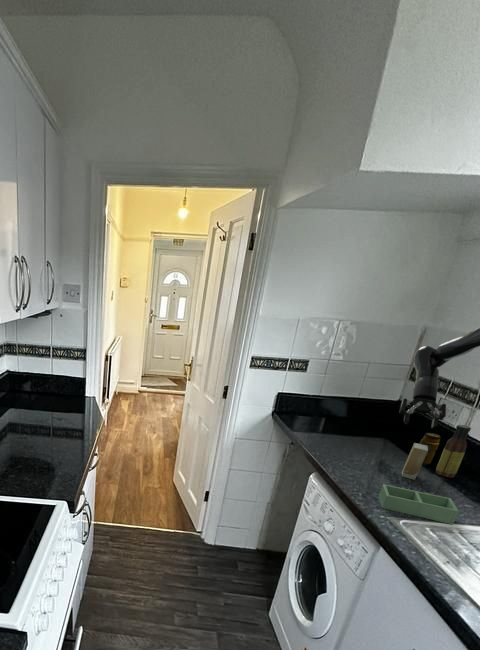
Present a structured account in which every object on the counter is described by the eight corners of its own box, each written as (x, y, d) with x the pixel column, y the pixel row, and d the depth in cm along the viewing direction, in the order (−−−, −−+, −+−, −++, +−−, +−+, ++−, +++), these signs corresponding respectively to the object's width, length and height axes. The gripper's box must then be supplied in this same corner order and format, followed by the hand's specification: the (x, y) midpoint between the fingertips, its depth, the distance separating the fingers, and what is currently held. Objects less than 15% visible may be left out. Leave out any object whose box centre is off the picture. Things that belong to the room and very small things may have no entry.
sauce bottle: (456, 476, 160) (480, 428, 151) (450, 479, 156) (474, 430, 148) (436, 469, 165) (458, 422, 156) (430, 473, 161) (452, 425, 153)
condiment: (435, 464, 171) (447, 437, 166) (422, 466, 167) (435, 439, 162) (416, 457, 177) (428, 430, 171) (404, 459, 173) (415, 432, 168)
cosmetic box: (401, 471, 161) (413, 442, 156) (415, 474, 159) (427, 445, 154) (401, 476, 156) (413, 447, 151) (415, 480, 154) (428, 450, 149)
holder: (445, 510, 133) (450, 498, 131) (452, 524, 125) (459, 511, 123) (378, 496, 140) (383, 484, 138) (381, 508, 132) (386, 495, 130)
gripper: (407, 382, 163) (401, 417, 159) (451, 387, 158) (447, 424, 153) (400, 393, 170) (395, 426, 165) (443, 398, 164) (438, 433, 159)
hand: (420, 425), depth 159 cm, fingers open, 8 cm apart
